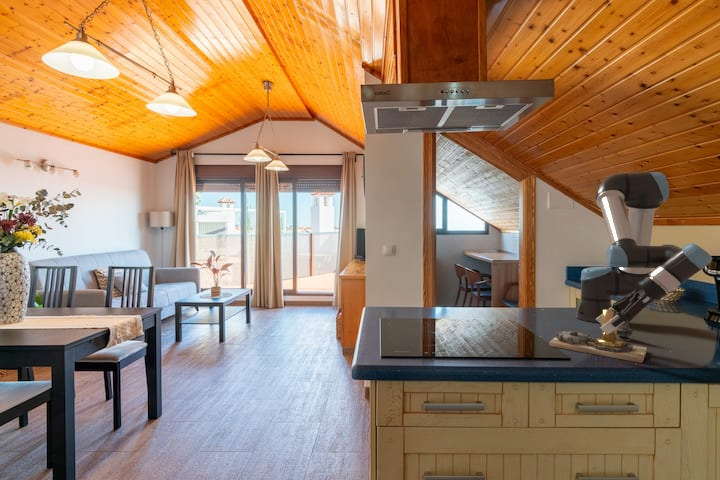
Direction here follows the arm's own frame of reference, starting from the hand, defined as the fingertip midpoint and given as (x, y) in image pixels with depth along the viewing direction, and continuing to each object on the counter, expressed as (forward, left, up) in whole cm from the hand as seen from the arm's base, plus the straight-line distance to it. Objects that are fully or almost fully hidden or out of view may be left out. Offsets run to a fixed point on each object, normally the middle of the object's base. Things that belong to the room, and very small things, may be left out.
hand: (601, 326), depth 130 cm
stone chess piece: (-21, +4, -8) cm, 22 cm away
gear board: (-1, -1, -8) cm, 8 cm away
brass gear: (-1, +2, -6) cm, 7 cm away
